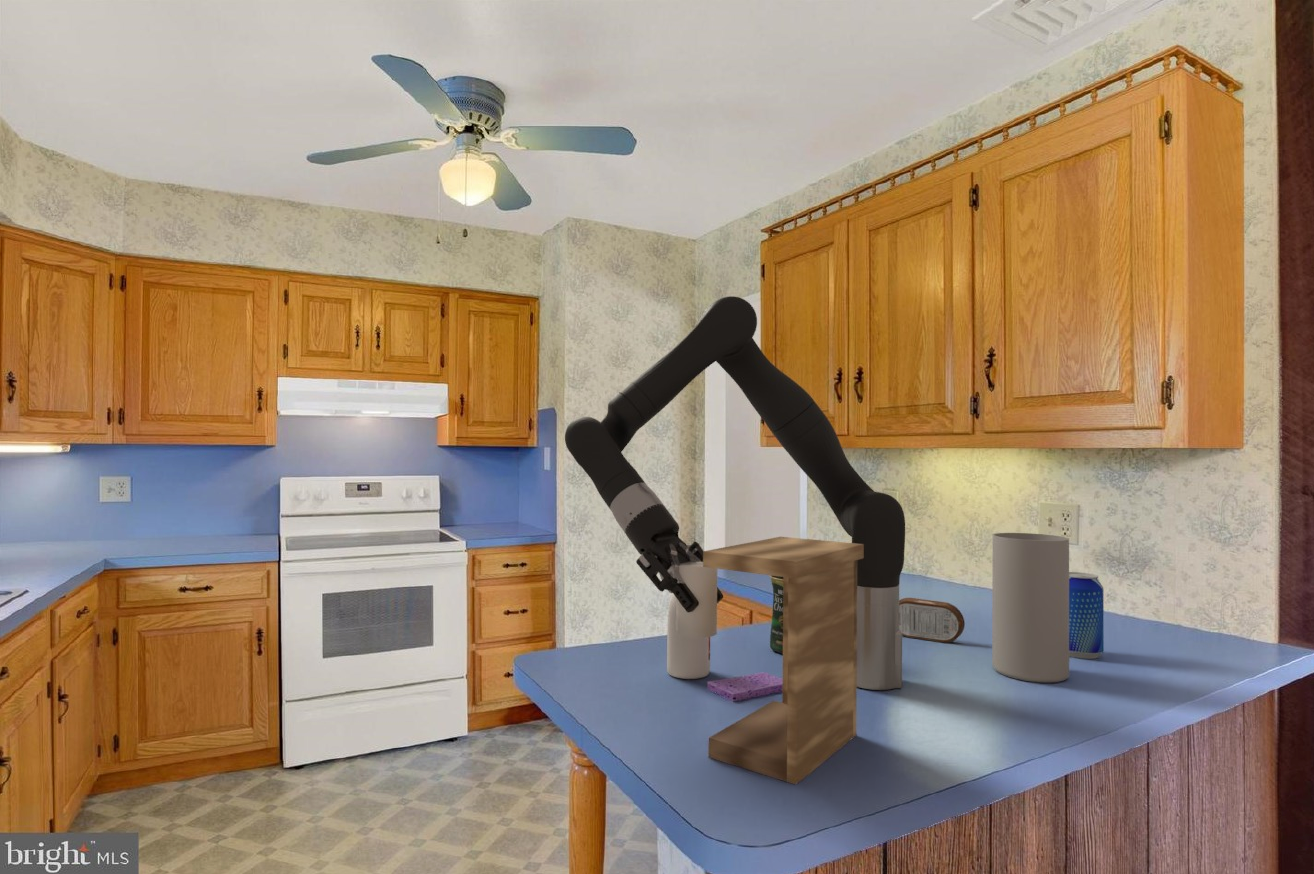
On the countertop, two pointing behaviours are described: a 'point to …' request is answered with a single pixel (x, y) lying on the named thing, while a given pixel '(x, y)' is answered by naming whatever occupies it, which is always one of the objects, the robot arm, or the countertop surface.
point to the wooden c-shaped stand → (800, 657)
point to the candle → (705, 591)
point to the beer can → (1085, 616)
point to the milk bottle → (685, 650)
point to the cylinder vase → (1030, 606)
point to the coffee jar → (777, 615)
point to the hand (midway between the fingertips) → (706, 604)
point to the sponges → (746, 686)
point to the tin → (930, 620)
